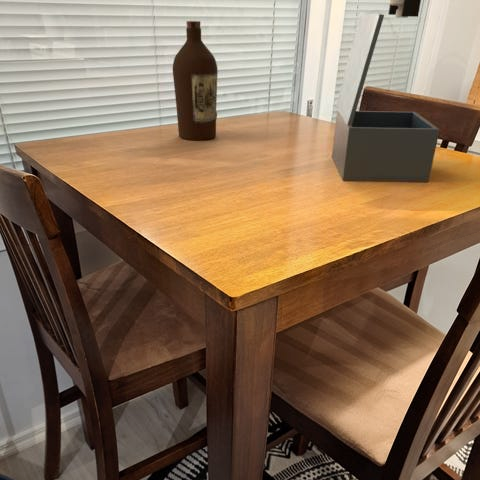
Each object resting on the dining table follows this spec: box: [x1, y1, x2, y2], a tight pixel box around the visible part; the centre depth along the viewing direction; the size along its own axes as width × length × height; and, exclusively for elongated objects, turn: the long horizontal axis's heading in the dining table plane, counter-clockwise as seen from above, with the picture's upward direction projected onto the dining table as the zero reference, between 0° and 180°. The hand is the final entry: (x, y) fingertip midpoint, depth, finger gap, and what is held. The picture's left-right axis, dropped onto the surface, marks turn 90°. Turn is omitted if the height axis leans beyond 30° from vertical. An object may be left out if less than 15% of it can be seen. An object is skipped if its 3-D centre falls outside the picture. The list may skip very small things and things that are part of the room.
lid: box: [334, 11, 385, 126], centre depth 93 cm, size 18×17×1 cm
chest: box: [331, 110, 441, 183], centre depth 100 cm, size 17×17×10 cm
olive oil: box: [172, 20, 218, 141], centre depth 119 cm, size 11×11×25 cm
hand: (402, 15), depth 89 cm, fingers closed on showerhead, 9 cm apart
